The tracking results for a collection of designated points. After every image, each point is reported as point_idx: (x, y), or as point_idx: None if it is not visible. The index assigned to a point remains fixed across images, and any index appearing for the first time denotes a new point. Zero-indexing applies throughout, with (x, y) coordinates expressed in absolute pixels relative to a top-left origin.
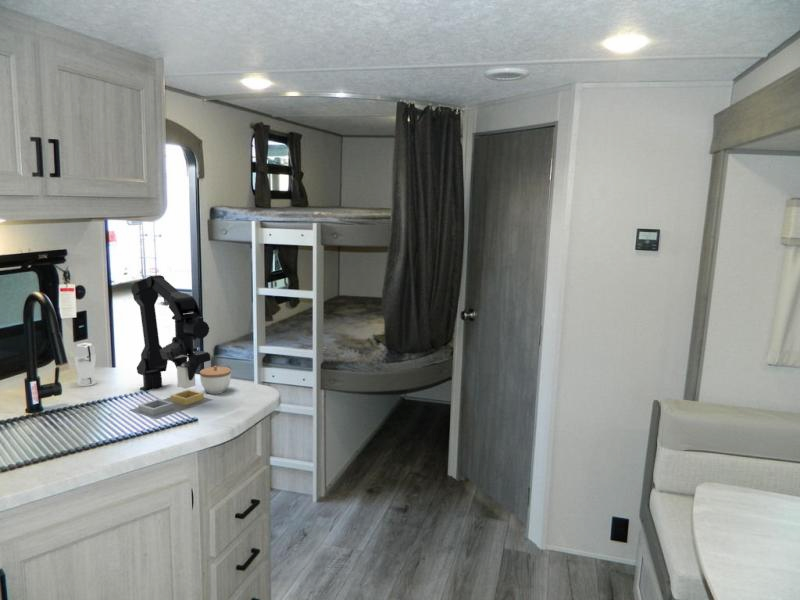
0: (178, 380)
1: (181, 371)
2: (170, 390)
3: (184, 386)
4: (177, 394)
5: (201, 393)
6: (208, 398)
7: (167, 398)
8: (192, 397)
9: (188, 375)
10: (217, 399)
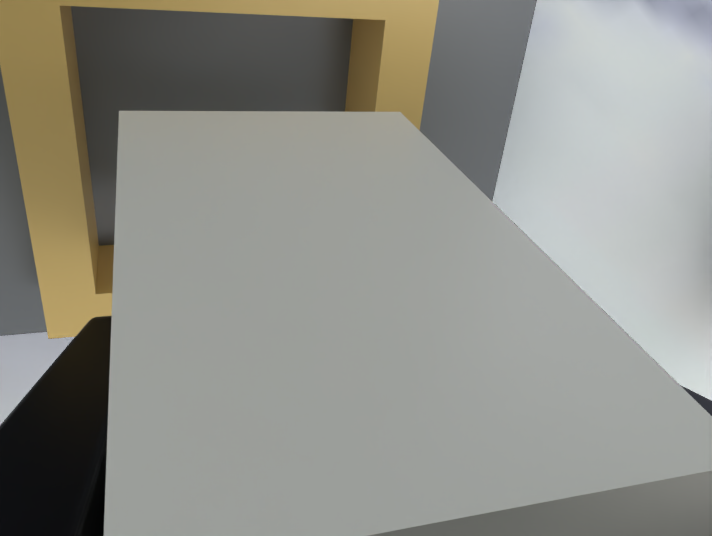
0: (424, 169)
1: (374, 363)
2: (698, 265)
3: (163, 125)
4: (377, 69)
5: (71, 316)
6: (24, 332)
7: (526, 4)
8: (11, 116)
9: (96, 393)
10: (8, 404)
